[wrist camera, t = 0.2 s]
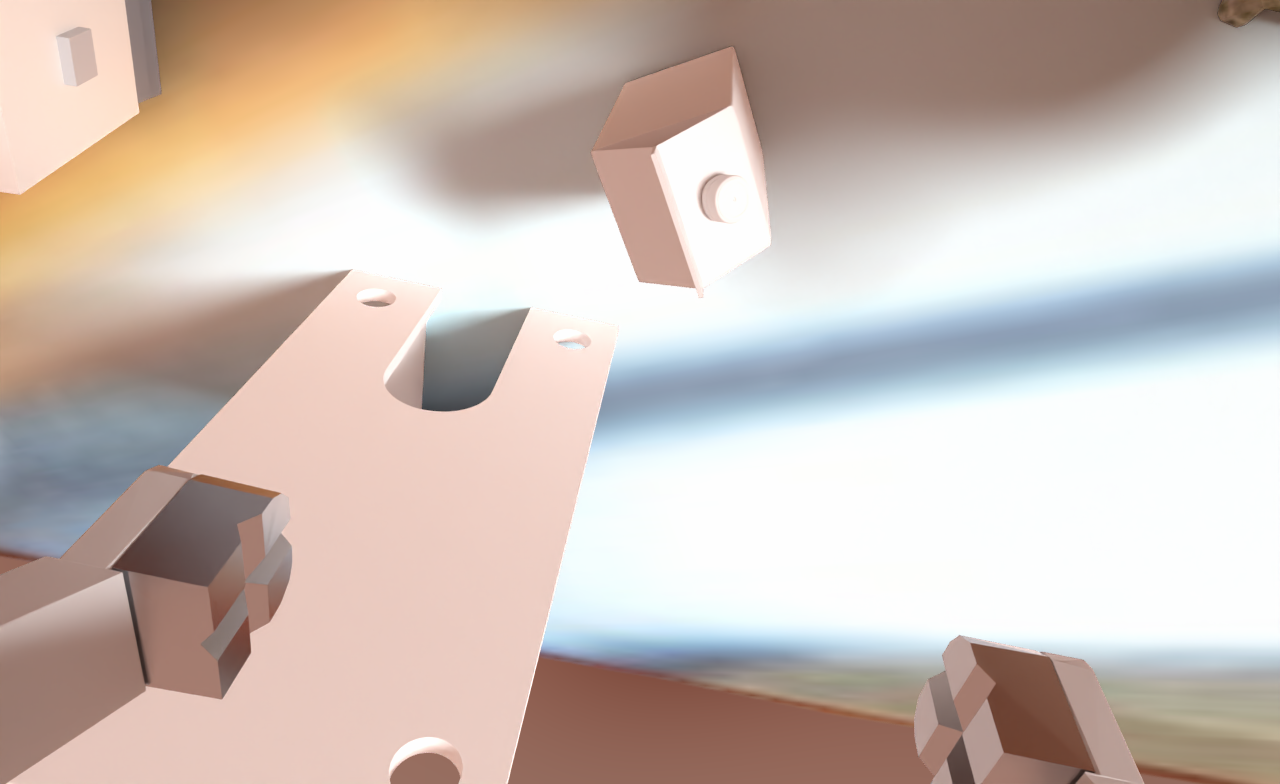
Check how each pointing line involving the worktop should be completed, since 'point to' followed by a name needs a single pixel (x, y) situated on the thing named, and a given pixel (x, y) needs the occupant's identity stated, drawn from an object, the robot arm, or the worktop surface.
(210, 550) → the robot arm
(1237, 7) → the samovar
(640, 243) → the milk carton
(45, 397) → the worktop surface
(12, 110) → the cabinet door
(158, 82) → the shallow grey box
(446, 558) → the white bracket plate
